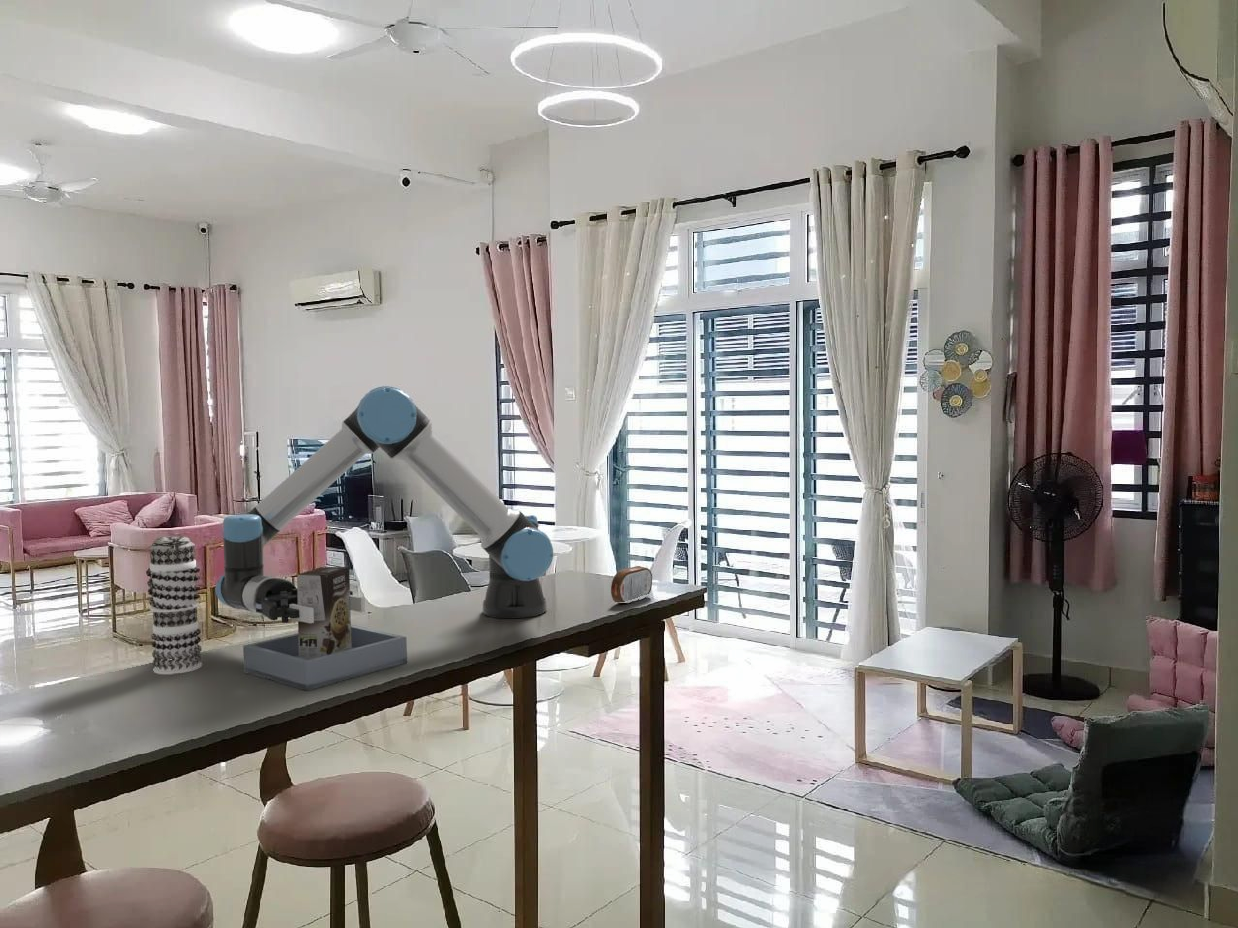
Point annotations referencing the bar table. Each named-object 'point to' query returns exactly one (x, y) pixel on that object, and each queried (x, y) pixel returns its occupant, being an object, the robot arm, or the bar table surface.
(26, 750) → the bar table surface
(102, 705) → the bar table surface
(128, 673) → the bar table surface
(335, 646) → the cookie box
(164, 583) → the decorative candle
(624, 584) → the tin
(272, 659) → the tray
